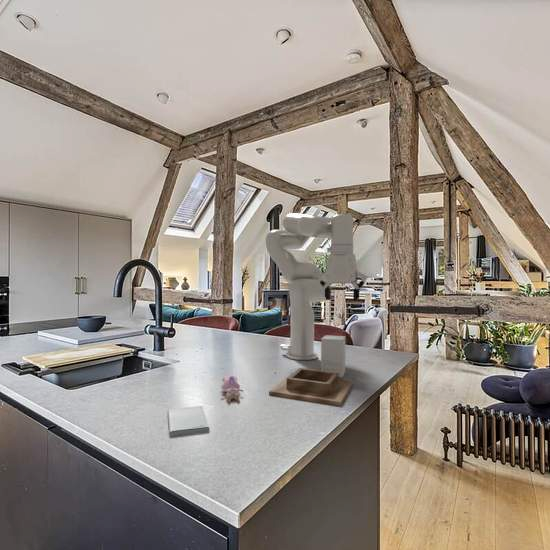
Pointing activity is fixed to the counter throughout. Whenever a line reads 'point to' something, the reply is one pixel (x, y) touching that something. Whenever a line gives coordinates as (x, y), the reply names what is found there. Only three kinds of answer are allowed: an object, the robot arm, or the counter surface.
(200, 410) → the hard drive
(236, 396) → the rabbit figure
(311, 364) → the counter surface
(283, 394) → the walnut holder
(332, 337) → the supplement box
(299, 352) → the robot arm
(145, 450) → the counter surface
